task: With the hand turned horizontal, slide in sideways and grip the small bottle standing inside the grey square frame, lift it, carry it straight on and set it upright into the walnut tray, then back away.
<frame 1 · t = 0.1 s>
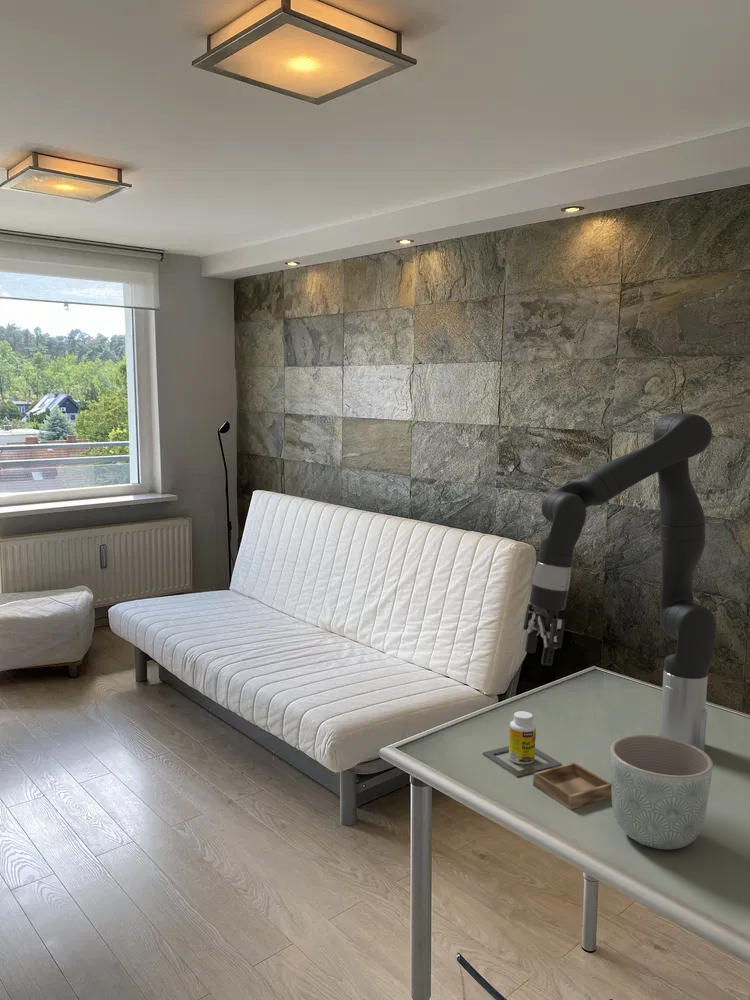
hand: (537, 658, 164), 22 cm above the table, tool pointing down, fingers open, 8 cm apart
planter: (655, 836, 137), on the table
grey square frame: (521, 759, 166), on the table
supplement bottle: (521, 760, 166), on the table
tray: (571, 791, 152), on the table
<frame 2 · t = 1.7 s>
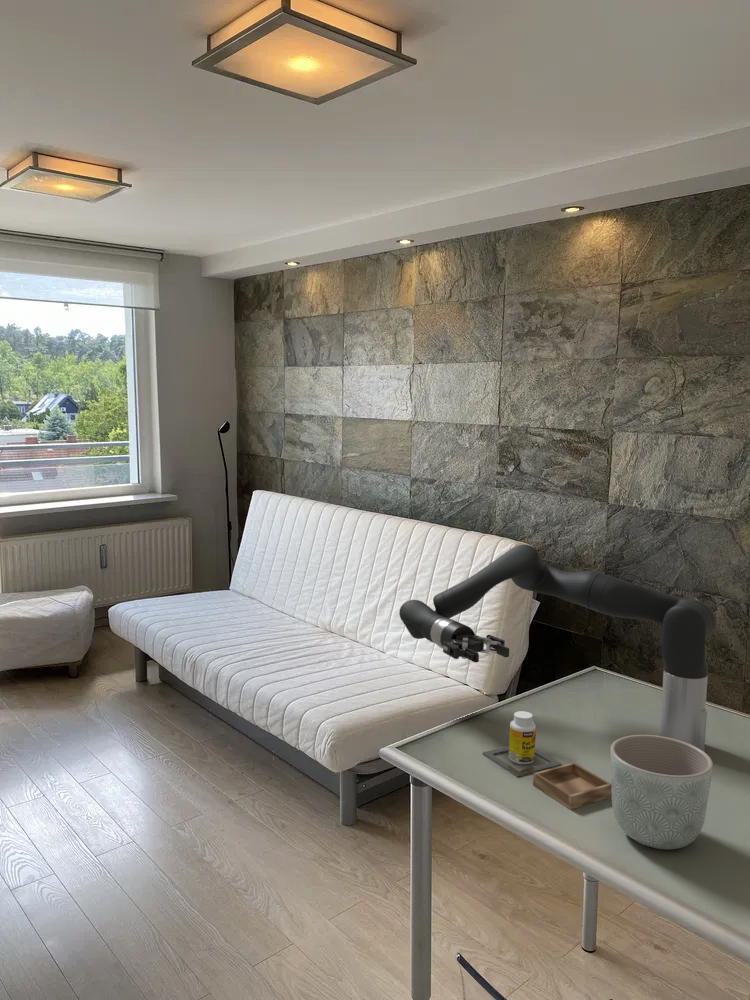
hand: (493, 655, 173), 20 cm above the table, tool horizontal, fingers open, 8 cm apart
nothing on the table moved.
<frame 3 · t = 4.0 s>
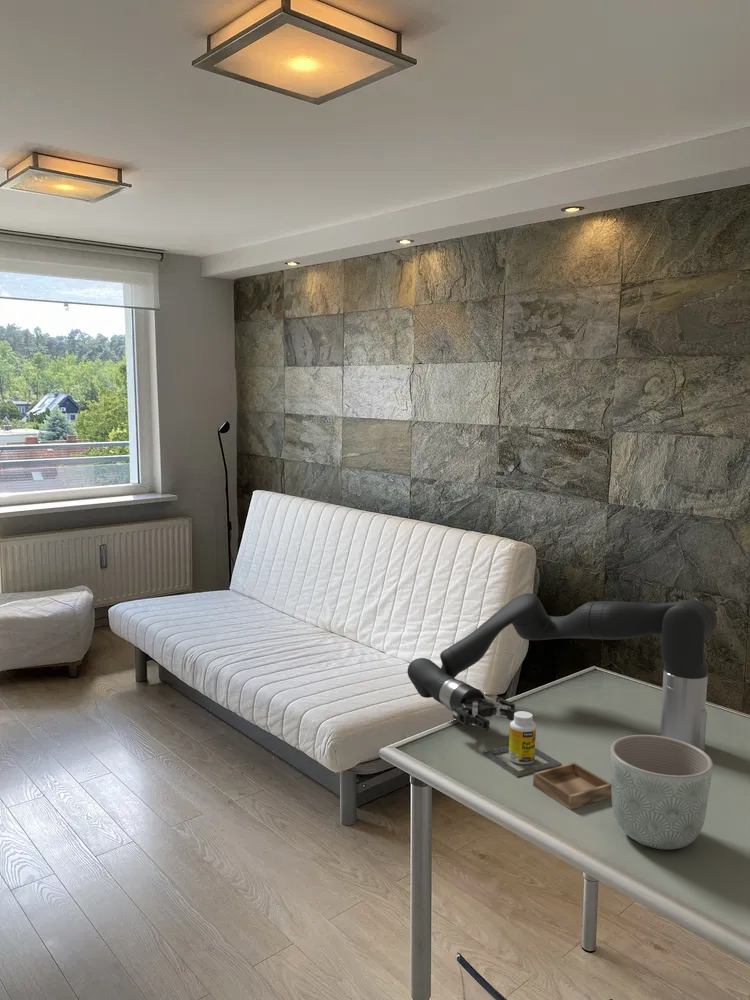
hand: (503, 722, 171), 6 cm above the table, tool horizontal, fingers open, 8 cm apart
nothing on the table moved.
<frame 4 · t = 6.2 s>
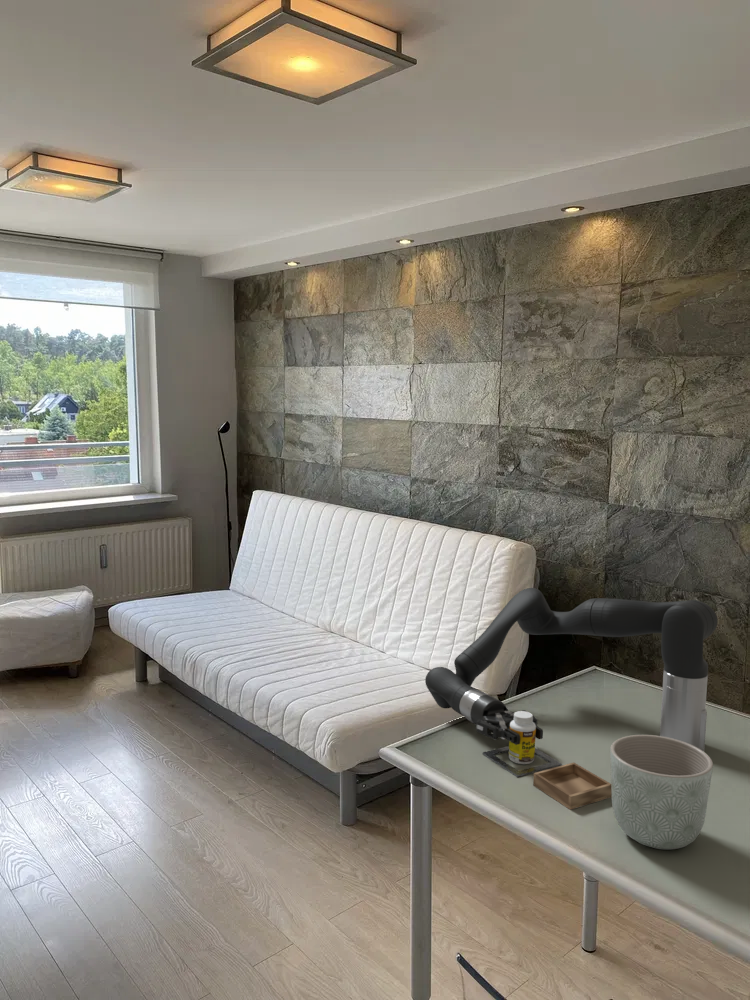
hand: (530, 737, 163), 6 cm above the table, tool horizontal, fingers closed on supplement bottle, 5 cm apart
supplement bottle: (521, 760, 166), on the table, touching gripper
everything else where it was.
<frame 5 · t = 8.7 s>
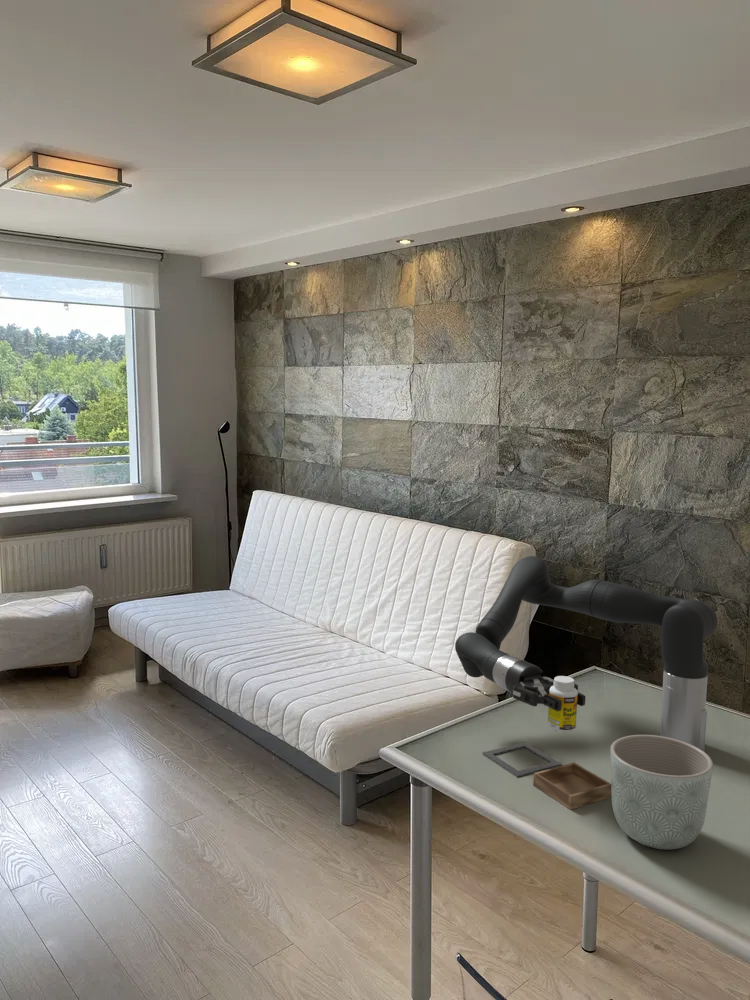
hand: (572, 703, 151), 18 cm above the table, tool horizontal, fingers closed on supplement bottle, 5 cm apart
supplement bottle: (561, 728, 154), point 11 cm above the table, touching gripper
everything else where it was.
when the fingers open (8 cm above the table, at t = 11.4 s): supplement bottle drops 1 cm, resting on tray.
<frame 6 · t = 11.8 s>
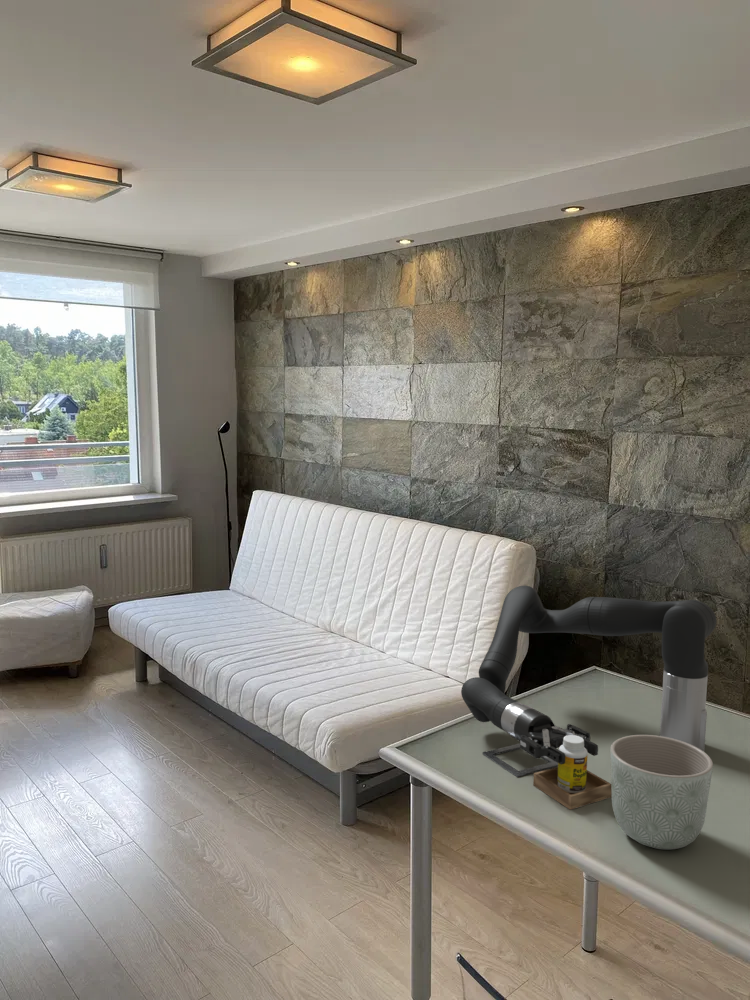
hand: (580, 755, 150), 8 cm above the table, tool horizontal, fingers open, 8 cm apart
supplement bottle: (571, 788, 152), resting on tray
everything else where it was.
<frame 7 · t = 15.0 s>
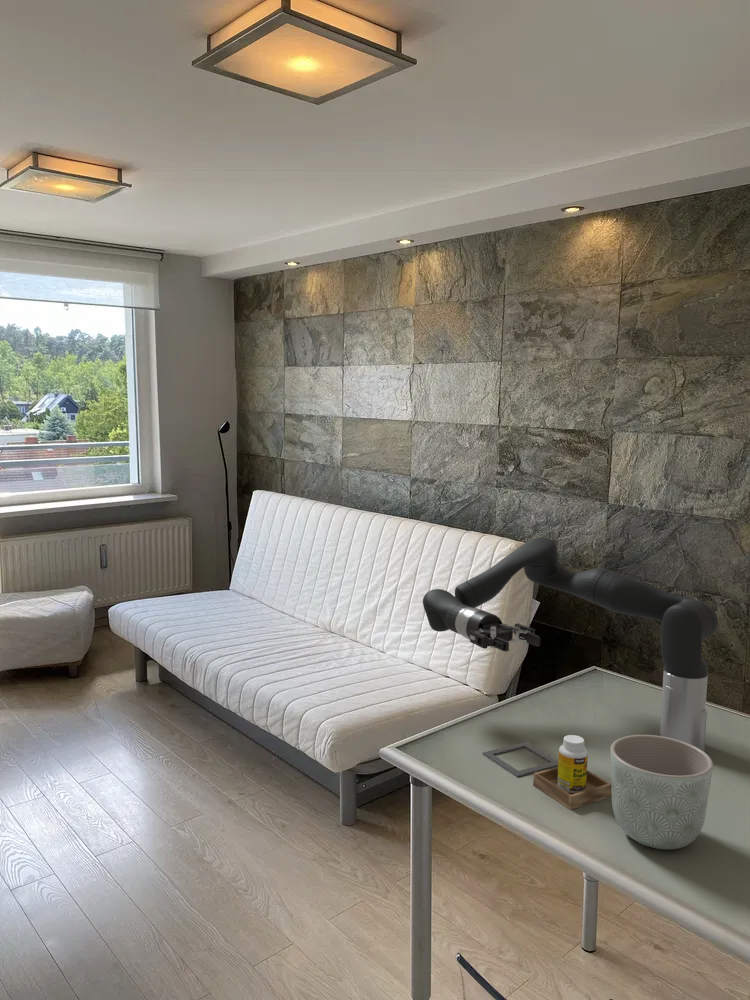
hand: (523, 644, 164), 26 cm above the table, tool horizontal, fingers open, 8 cm apart
nothing on the table moved.
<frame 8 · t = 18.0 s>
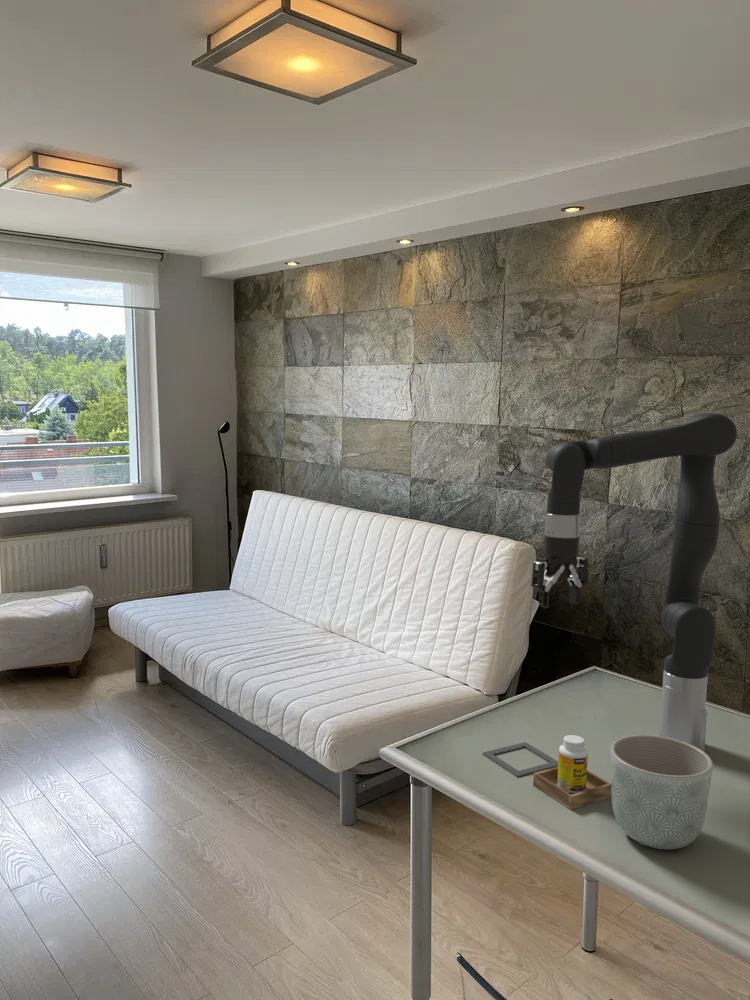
hand: (559, 605, 171), 32 cm above the table, tool pointing down, fingers open, 8 cm apart
nothing on the table moved.
at the end: supplement bottle 0.1 cm from the tray (horizontally); supplement bottle tilted 0°; supplement bottle touching tray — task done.
